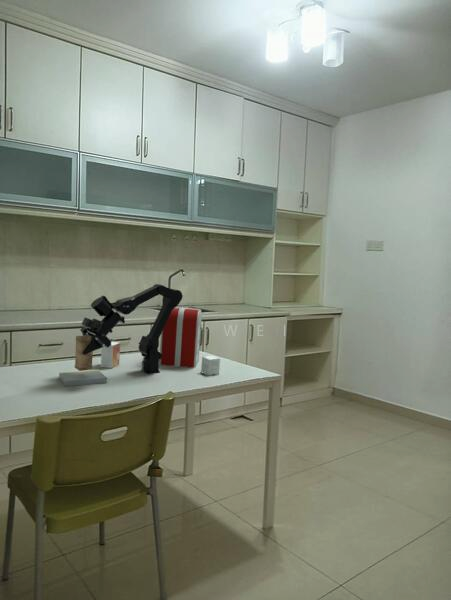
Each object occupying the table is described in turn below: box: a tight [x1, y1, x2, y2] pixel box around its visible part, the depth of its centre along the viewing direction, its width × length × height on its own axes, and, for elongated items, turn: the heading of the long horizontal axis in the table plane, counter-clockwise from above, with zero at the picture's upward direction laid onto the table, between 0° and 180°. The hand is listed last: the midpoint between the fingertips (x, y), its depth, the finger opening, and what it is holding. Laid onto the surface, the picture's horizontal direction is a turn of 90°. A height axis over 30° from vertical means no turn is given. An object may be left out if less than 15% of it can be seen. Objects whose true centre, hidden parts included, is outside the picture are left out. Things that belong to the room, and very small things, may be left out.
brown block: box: [74, 335, 94, 371], centre depth 183 cm, size 5×5×13 cm
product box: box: [200, 355, 221, 376], centre depth 208 cm, size 6×6×7 cm
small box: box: [100, 341, 121, 369], centre depth 208 cm, size 8×6×10 cm
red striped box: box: [159, 306, 203, 369], centre depth 223 cm, size 16×18×27 cm
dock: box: [58, 369, 108, 387], centre depth 184 cm, size 16×12×2 cm
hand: (80, 352), depth 182 cm, fingers closed on brown block, 5 cm apart
